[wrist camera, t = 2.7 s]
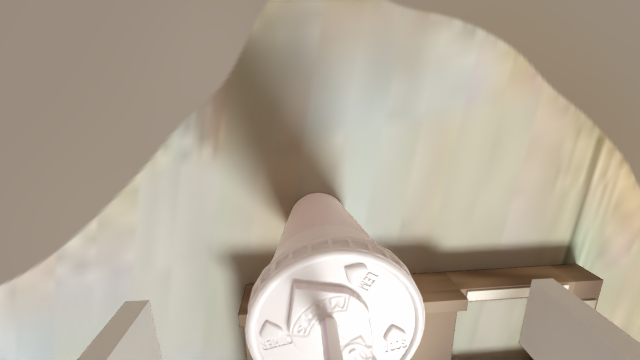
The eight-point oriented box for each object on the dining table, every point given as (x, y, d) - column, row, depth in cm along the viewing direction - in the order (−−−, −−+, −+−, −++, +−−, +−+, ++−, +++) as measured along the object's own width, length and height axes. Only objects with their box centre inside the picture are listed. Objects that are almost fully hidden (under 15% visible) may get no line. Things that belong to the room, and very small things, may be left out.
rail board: (257, 396, 23) (252, 438, 20) (246, 284, 21) (238, 315, 18) (550, 370, 25) (584, 406, 22) (576, 263, 22) (618, 289, 19)
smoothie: (329, 151, 18) (416, 304, 5) (384, 227, 20) (560, 491, 7) (247, 211, 19) (134, 486, 6) (308, 279, 21) (329, 615, 7)
